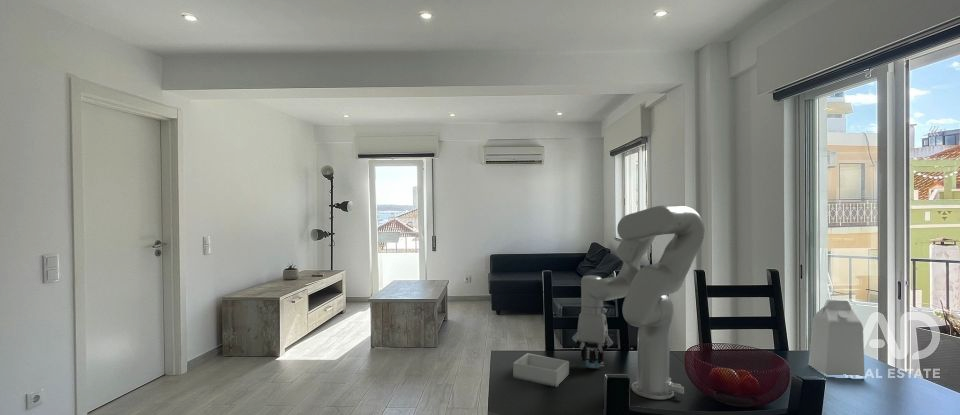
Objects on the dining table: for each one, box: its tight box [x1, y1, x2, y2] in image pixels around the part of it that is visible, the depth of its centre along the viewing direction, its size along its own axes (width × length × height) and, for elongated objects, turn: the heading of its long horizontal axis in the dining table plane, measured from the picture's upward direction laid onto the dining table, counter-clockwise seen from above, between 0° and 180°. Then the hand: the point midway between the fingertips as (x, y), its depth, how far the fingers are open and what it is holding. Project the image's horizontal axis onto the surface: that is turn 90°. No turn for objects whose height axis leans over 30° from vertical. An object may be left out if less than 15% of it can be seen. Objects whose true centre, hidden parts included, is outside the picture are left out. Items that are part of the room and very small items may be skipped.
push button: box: [584, 342, 605, 369], centre depth 167 cm, size 7×5×10 cm
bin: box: [512, 352, 570, 388], centre depth 159 cm, size 16×12×5 cm
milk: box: [808, 298, 866, 376], centre depth 165 cm, size 12×12×26 cm
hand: (592, 360), depth 167 cm, fingers closed on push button, 5 cm apart
